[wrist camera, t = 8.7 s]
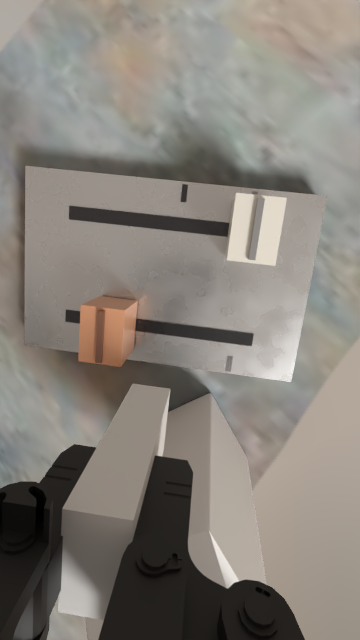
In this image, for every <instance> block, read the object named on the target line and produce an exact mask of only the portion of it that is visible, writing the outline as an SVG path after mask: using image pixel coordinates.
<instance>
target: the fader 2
mask: <svg viewBox="0 0 360 640" xmlns="http://www.w3.org/2000/svg"><path fill="white" fill-rule="evenodd" d="M286 201H287V198H284V197H274V196H264V195H254V194H245V193H236V194H235V196H234V199H233V201H232V209H231V216H230V223H229V230H228V238H227V245H226V252H225V259H226V260H229V261H238V262H246V263H255V264H264V265H272V266H275V265H276V259H277V253H278V248H279V242H280V236H281V230H282V224H283V218H284V212H285V207H286Z"/></svg>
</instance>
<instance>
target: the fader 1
mask: <svg viewBox="0 0 360 640" xmlns="http://www.w3.org/2000/svg"><path fill="white" fill-rule="evenodd" d="M137 303H138V301H136V300H128V299H120V298H112V297H104V296H99V297H97V298H94V299H92V300H90V301H88V302H86V303H84V304H81V309H80V332H79V354H78V361H80V362H87V363H94V364H102V365H109V366H116V367H121V366H122V364H123V363H124V362H125V361H126V359H127V358H128V357H129V355H130V354H131V353H132V351H133V350H134V340H135V328H136V316H137Z"/></svg>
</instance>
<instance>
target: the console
mask: <svg viewBox="0 0 360 640" xmlns="http://www.w3.org/2000/svg"><path fill="white" fill-rule="evenodd" d="M236 193H245V194H254V195H264V196H274V197H284V198H287V201H286V207H285V212H284V218H283V224H282V230H281V236H280V242H279V248H278V253H277V259H276V265H275V266H272V265H264V264H255V263H246V262H238V261H229V260H226V259H225V252H226V245H227V238H228V230H229V223H230V216H231V209H232V201H233V199H234V196H235V194H236ZM326 201H327V196H324V195H314V194H304V193H294V192H284V191H274V190H264V189H254V188H244V187H234V186H224V185H214V184H204V183H194V182H184V181H174V180H164V179H154V178H144V177H134V176H124V175H114V174H104V173H94V172H84V171H74V170H64V169H54V168H44V167H34V166H25V302H24V345H27V346H34V347H41V348H48V349H56V350H63V351H70V352H77V353H79V332H80V309H81V304H84V303H86V302H88V301H90V300H92V299H94V298H97V297H99V296H104V297H112V298H120V299H128V300H136V301H138V303H137V316H136V328H135V340H134V350H133V351H132V353H131V354H130V355H129V357H128V358H127V359H128V360H135V361H143V362H150V363H157V364H164V365H172V366H179V367H186V368H193V369H201V370H208V371H215V372H223V373H230V374H237V375H244V376H252V377H259V378H266V379H273V380H281V381H288V382H291V380H292V375H293V370H294V365H295V360H296V355H297V349H298V344H299V339H300V334H301V329H302V324H303V319H304V314H305V309H306V303H307V298H308V293H309V288H310V283H311V278H312V273H313V268H314V262H315V257H316V252H317V247H318V242H319V237H320V232H321V227H322V222H323V216H324V211H325V206H326Z"/></svg>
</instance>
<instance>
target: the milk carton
mask: <svg viewBox="0 0 360 640" xmlns="http://www.w3.org/2000/svg"><path fill="white" fill-rule="evenodd" d="M162 457H169V458H175V459H182V460H187V461H188V463H189V465H190V467H191V469H192V471H193V483H192V496H191V509H190V522H189V535H188V551H189V554H190V557H191V560H192V561H193V563H194V565H195V566H196V568H197V569H198V570H199V571H200V572H201V573H202V574H203V575H204V576H206V577H207V578H209V579H211V580H212V581H214V582H216V583H218V584H220V585H221V586H223V587H225V588H227V589H228V588H229V587H230V586H231V585H232V584H233V583H235V582H238V581H242V580H254V581H260V582H262V583H264V584H266V578H265V571H264V565H263V558H262V552H261V545H260V539H259V532H258V526H257V519H256V513H255V507H254V500H253V493H252V487H251V480H250V474H249V467H248V461H247V457H246V455H245V453H244V452H243V450H242V448H241V446H240V444H239V443H238V441H237V439H236V437H235V435H234V434H233V432H232V430H231V428H230V426H229V425H228V423H227V421H226V419H225V417H224V416H223V414H222V412H221V410H220V408H219V407H218V405H217V403H216V401H215V399H214V398H213V396H212V394H211V393H209V394H206V395H204V396H202V397H199V398H197V399H195V400H193V401H191V402H189V403H186V404H184V405H182V406H180V407H178V408H176V409H173V410H171V411H169V412H168V415H167V424H166V433H165V442H164V451H163V455H162ZM266 585H267V584H266ZM85 621H86V630H87V638H88V640H98V639H99V635H100V632H101V628H102V625H103V621H104V620H100V619H94V618H89V617H85Z"/></svg>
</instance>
